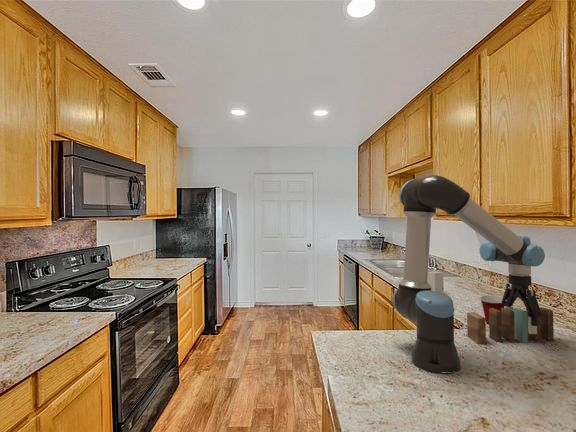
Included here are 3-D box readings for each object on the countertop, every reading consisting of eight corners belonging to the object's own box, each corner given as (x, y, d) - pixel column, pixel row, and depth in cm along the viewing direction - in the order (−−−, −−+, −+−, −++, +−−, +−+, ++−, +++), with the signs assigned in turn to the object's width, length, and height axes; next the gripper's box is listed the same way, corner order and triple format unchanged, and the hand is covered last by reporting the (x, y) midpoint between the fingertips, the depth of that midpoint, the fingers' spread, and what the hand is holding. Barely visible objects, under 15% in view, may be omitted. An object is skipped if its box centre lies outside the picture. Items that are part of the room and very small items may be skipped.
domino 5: (548, 341, 132) (547, 311, 132) (539, 337, 137) (538, 307, 137) (553, 341, 132) (553, 310, 132) (544, 337, 137) (543, 307, 137)
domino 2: (509, 342, 132) (509, 311, 132) (501, 337, 137) (501, 308, 137) (514, 342, 132) (514, 311, 132) (506, 337, 137) (506, 307, 137)
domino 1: (496, 342, 132) (496, 311, 132) (489, 337, 137) (488, 308, 137) (501, 342, 132) (501, 311, 132) (494, 337, 137) (493, 308, 137)
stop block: (478, 343, 131) (477, 318, 131) (467, 336, 139) (467, 312, 139) (485, 343, 131) (485, 318, 131) (474, 336, 139) (474, 312, 139)
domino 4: (535, 341, 132) (535, 311, 132) (526, 337, 137) (526, 307, 137) (540, 341, 132) (540, 311, 132) (531, 337, 137) (531, 307, 137)
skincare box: (435, 297, 203) (434, 273, 203) (426, 295, 209) (426, 271, 209) (444, 296, 207) (444, 271, 207) (436, 294, 213) (435, 270, 213)
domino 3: (519, 337, 137) (518, 307, 137) (527, 341, 132) (527, 311, 132) (514, 337, 137) (513, 307, 137) (522, 341, 132) (522, 311, 132)
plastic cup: (477, 325, 153) (477, 298, 153) (481, 319, 161) (481, 293, 161) (506, 329, 146) (505, 301, 146) (508, 323, 155) (508, 296, 155)
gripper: (553, 280, 122) (554, 339, 122) (509, 269, 147) (510, 318, 147) (532, 280, 122) (533, 339, 122) (491, 269, 147) (492, 318, 147)
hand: (520, 327), depth 135 cm, fingers open, 13 cm apart
